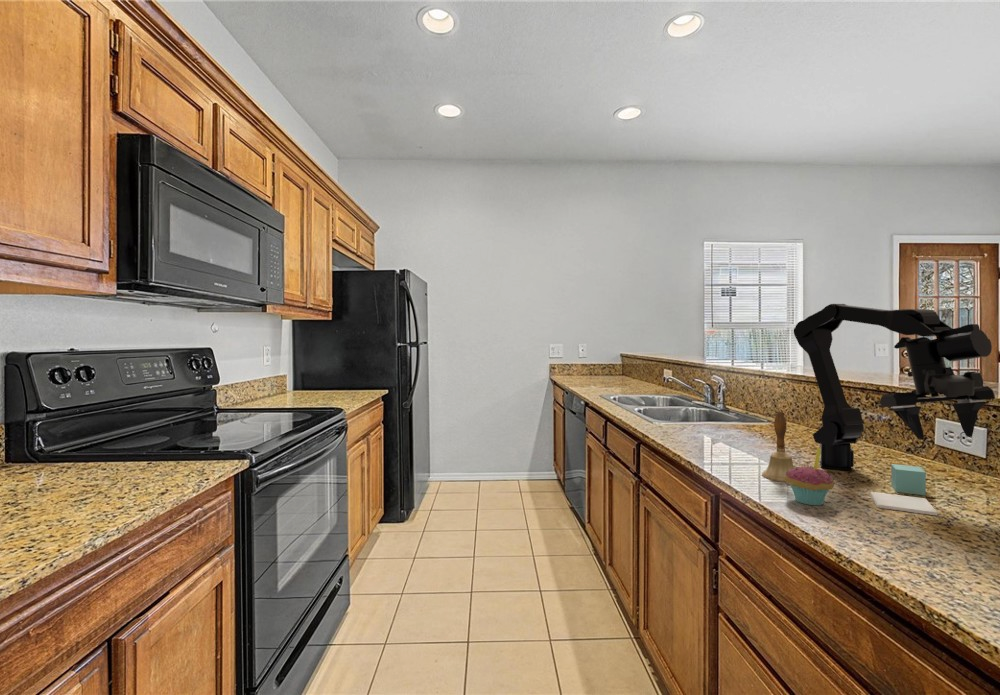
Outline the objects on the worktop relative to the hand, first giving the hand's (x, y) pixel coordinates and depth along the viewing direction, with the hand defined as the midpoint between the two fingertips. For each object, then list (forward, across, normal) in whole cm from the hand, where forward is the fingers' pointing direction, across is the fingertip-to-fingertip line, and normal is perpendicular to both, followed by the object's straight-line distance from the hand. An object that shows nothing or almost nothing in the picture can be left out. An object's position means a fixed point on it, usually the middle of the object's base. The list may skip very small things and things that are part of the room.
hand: (945, 438), depth 101 cm
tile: (+12, -14, -4) cm, 19 cm away
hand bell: (+8, -29, +13) cm, 32 cm away
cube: (+11, -6, +6) cm, 14 cm away
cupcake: (+11, -31, -4) cm, 33 cm away
